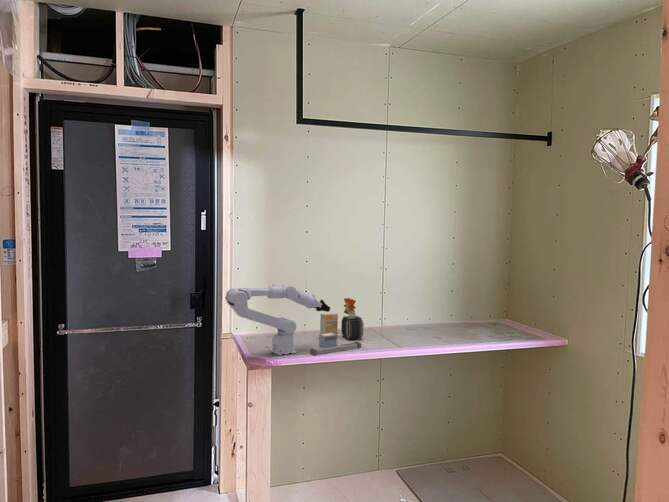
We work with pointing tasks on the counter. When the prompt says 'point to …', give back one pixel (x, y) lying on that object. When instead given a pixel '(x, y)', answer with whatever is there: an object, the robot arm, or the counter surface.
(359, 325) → the bomb
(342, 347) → the rail
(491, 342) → the counter surface
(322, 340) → the block
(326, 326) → the supplement box
